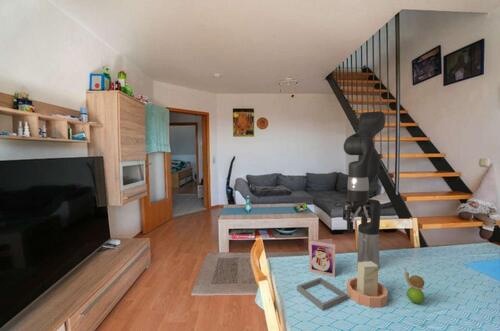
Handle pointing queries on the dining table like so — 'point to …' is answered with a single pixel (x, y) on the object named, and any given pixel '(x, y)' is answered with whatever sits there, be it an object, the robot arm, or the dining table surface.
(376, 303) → the bowl
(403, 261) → the dining table surface
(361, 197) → the robot arm
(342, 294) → the open rectangular frame
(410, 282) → the snail figurine
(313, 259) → the greeting card
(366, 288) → the skincare box
